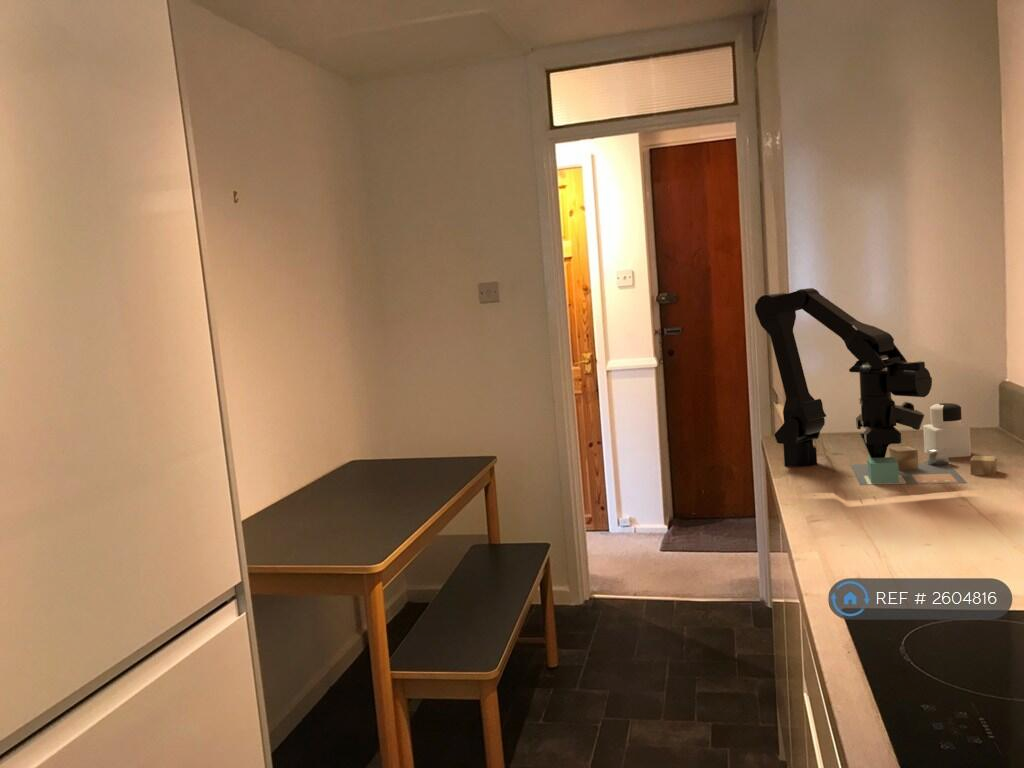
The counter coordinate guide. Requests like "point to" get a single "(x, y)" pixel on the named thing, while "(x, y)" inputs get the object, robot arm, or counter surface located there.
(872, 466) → the green cube
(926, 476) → the board
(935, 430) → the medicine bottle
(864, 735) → the counter surface
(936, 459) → the metal tin
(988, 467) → the oak cube
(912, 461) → the oak cube
